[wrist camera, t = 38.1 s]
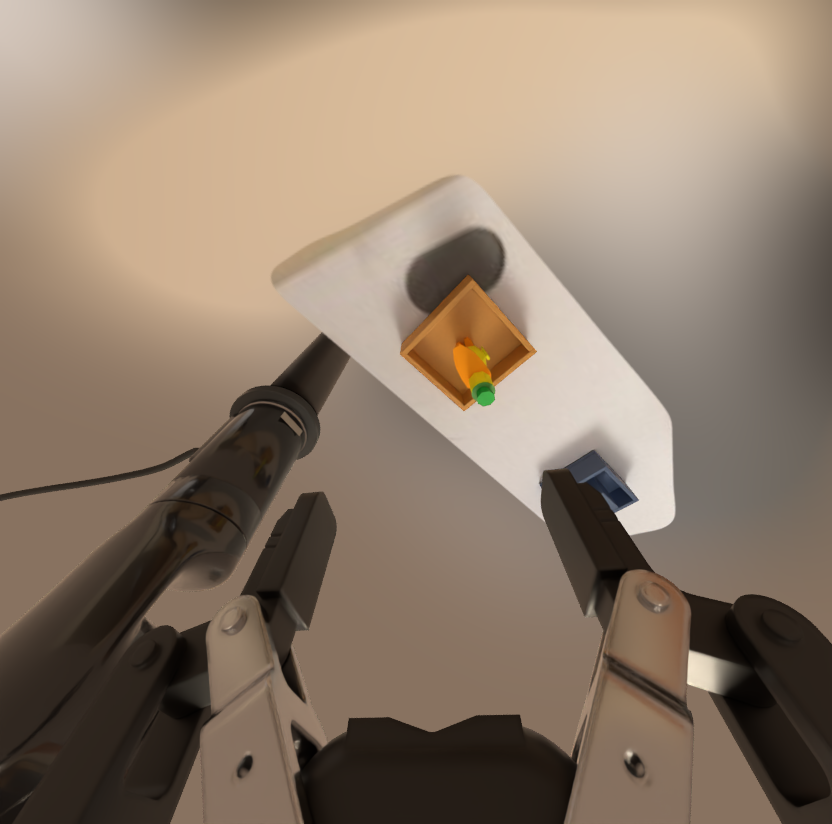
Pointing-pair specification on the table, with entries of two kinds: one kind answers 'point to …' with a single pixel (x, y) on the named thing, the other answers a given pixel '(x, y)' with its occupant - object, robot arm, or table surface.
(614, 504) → the blue block
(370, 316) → the table surface
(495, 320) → the ochre bin
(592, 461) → the blue bin
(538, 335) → the table surface
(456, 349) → the toy figure
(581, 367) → the table surface
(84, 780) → the robot arm
